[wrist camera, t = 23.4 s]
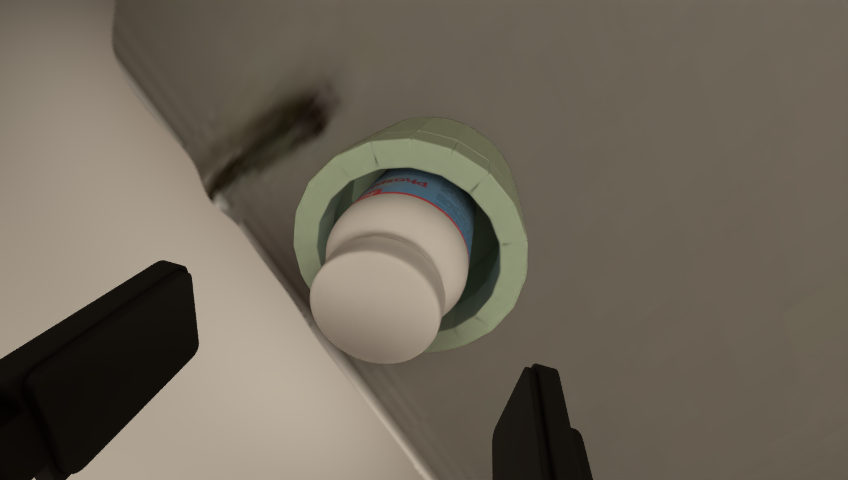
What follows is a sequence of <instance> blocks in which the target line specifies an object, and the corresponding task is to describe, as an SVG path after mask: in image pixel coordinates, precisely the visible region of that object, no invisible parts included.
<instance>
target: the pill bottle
mask: <svg viewBox="0 0 848 480" xmlns="http://www.w3.org/2000/svg"><path fill="white" fill-rule="evenodd" d="M475 213H476V202H475V200H474V199H473V198H472V196H471V195H470V194H469V193H468V192H466V191H465V190H463V189H462V188H460V187H458V186H457V185H455V184H454V183H452V182H450V181H449V180H447V179H446V178H444V177H443V176H440V175H437V174H433V173H429V172H425V171H421V170H418V169H414V168H393V169H387V170H386V171H385V172H384V173H383V174H382V175H381V176H380V177H379V178H378V179H377V180H376V181H375V182H374V183H373V184H372V185H371V186H370V187H369V188H368V189H367V190H366V191H365V192H364V193H363V194H362V195H361V196H360V197H359V198H358V199H357V200H356V201H355V202H354V203H353V204H352V205H351V206H350V207H349V208H348V209H347V210H346V211H345V212H344V213H343V214H342V216H341V217H340V218H339V219H338V221H337V222H336V223H335V225H334V227H333V228H332V230H331V232H330V235H329V238H328V241H327V246H326V262H325V263H324V265H323V266H322V267H321V268H320V270H319V271H318V273H317V274H316V276H315V278H314V280H313V283H312V286H311V290H310V306H311V311H312V314H313V317H314V319H315V321H316V323H317V325H318V327H319V328H320V330H321V331H322V333H323V334H324V335H325V336H326V338H327V339H328V340H329V341H330V342H332V343H333V344H334V345H335V346H336V347H338V348H339V349H340V350H342V351H344V352H345V353H347V354H349V355H351V356H353V357H355V358H358V359H360V360H363V361H367V362H372V363H378V364H393V363H399V362H403V361H407V360H410V359H412V358H414V357H416V356H417V355H419V354H420V353H422V352H423V351H424V350H426V349H427V348H428V347H429V345H430V344H431V343H432V342H433V340H434V339H435V337H436V335H437V332H438V330H439V327H440V323H441V319H442V317H443V316H444V315H445V314H446V313H448V312H449V311H450V310H451V309H452V308H453V307H454V305H455V304H456V303H457V301H458V300H459V298H460V296H461V295H462V292H463V290H464V287H465V284H466V280H467V276H468V269H469V262H470V253H471V245H472V237H473V229H474V222H475Z"/></svg>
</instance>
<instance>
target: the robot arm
mask: <svg viewBox="0 0 848 480" xmlns="http://www.w3.org/2000/svg"><path fill="white" fill-rule="evenodd" d="M198 346H199V340H198V331H197V322H196V312H195V303H194V294H193V284H192V277H191V274H190V273H188V271H187V268H186V267H185V266H182V265H179V264H175V263H172V262H168V261H165V260H162V261H158V262H156V263H154V264H153V265H151V266H150V267H148V268H146V269H145V270H143V271H142V272H140V273H139V274H137V275H135V276H134V277H132V278H130V279H129V280H127V281H126V282H124V283H123V284H121V285H119V286H117V287H116V288H114V289H113V290H111V291H109V292H108V293H106V294H105V295H103V296H101V297H100V298H98V299H97V300H95V301H93V302H92V303H90V304H89V305H87V306H85V307H84V308H82V309H80V310H79V311H77V312H76V313H74V314H72V315H71V316H69V317H68V318H66V319H64V320H63V321H61V322H60V323H58V324H56V325H55V326H53V327H52V328H50V329H48V330H47V331H45V332H44V333H42V334H40V335H39V336H37V337H35V338H34V339H32V340H31V341H29V342H27V343H26V344H24V345H23V346H21V347H19V348H18V349H16V350H15V351H13V352H11V353H10V354H8V355H7V356H5V357H3V358H2V359H0V480H32V479H33V478H34V477H35V479H36V480H66V479H67V478H68V477H69V476H70V475H71V474H75V473H77V472H79V471H81V470H82V469H83V468H84V467H85V466H86V465H87V464H88V463H89V462H90V461H91V460H92V459H93V458H94V457H95V456H96V455H97V454H98V453H99V452H100V451H101V450H102V449H103V448H104V447H105V446H106V445H107V444H108V443H109V442H110V441H111V440H112V439H113V438H114V437H115V436H116V435H117V434H118V433H119V432H120V431H121V430H122V429H123V428H124V427H125V426H126V425H127V424H128V423H129V422H130V421H131V420H132V419H133V418H134V417H135V416H136V415H137V414H138V413H139V411H140V410H141V409H142V408H143V407H144V406H145V405H146V404H147V403H148V402H149V401H150V400H151V399H152V398H153V397H154V396H155V395H156V394H157V393H158V392H159V391H160V390H161V389H162V388H163V387H164V386H165V385H166V384H167V383H168V382H169V381H170V380H171V379H172V378H173V377H174V376H175V375H176V374H177V373H178V372H179V371H180V370H181V369H182V368H183V366H185V365H186V364H187V363H188V361H190V359H191V358H192V357H193V356H194V355H195V353H196V352H197V350H198ZM492 467H493V480H593V478H592V474H591V470H590V466H589V462H588V458H587V454H586V450H585V446H584V442H583V439H582V436H581V434H580V433H579V431H578V430H576V429H573V428H571V426H570V422H569V417H568V413H567V408H566V404H565V399H564V395H563V390H562V386H561V381H560V377H559V373H558V371H557V370H556V369H554V368H550V367H546V366H543V365H539V364H533V365H532V367H531V368H529V367H525V368H524V370H523V372H522V374H521V376H520V378H519V380H518V382H517V384H516V386H515V388H514V390H513V392H512V394H511V397H510V399H509V401H508V403H507V405H506V407H505V409H504V411H503V413H502V415H501V417H500V419H499V421H498V423H497V425H496V427H495V430H494V433H493V439H492Z"/></svg>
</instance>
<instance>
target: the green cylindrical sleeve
mask: <svg viewBox="0 0 848 480" xmlns="http://www.w3.org/2000/svg"><path fill="white" fill-rule="evenodd" d="M393 168H414V169H418V170H421V171H425V172H429V173H433V174H437V175H440V176H443V177H444V178H446V179H447V180H449V181H450V182H452V183H454V184H455V185H457V186H458V187H460V188H462V189H463V190H465V191H466V192H468V193H469V194H470V195H471V196H472V198H473V199H474V200H475V202H476V213H475V222H474V229H473V237H472V245H471V253H470V262H469V269H468V276H467V280H466V284H465V287H464V290H463V292H462V295H461V296H460V298H459V300H458V301H457V303H456V304H455V305H454V307H453V308H452V309H451V310H450V311H449V312H448V313H446V314H445V315H444V316H443V317H442V319H441V323H440V327H439V330H438V332H437V335H436V337H435V339H434V340H433V342H432V343H431V344H430V345H429V347H428V348H427V349H426V350H424V351H423V352H439V351H444V350H448V349H452V348H457V347H461V346H465V345H467V344H469V343H470V342H472V341H474V340H476V339H477V338H479V337H481V336H483V335H485V334H486V333H488V332H490V331H492V330H493V329H494V328H495V327H496V326H497V325H498V324H499V323H500V322H501V320H502V319H503V318H504V317H505V316H506V315H507V314H508V313H509V312H510V311H511V310H512V308H513V307H514V305H515V303H516V301H517V299H518V296H519V294H520V291H521V289H522V286H523V284H524V282H525V279H526V275H527V258H528V240H527V235H526V230H525V226H524V221H523V216H522V212H521V208H520V203H519V199H518V194H517V190H516V187H515V184H514V181H513V178H512V175H511V172H510V169H509V167H508V165H507V163H506V161H505V160H504V158H503V157H502V155H501V154H500V152H499V151H498V150H497V149H496V147H495V146H494V145H493V144H492V143H491V142H490V141H489V140H488V139H487V138H485V137H484V136H483V135H482V134H480V133H479V132H477V131H476V130H474V129H473V128H471V127H468V126H466V125H464V124H462V123H459V122H456V121H453V120H450V119H445V118H439V117H420V118H413V119H407V120H403V121H401V122H399V123H397V124H394V125H392V126H390V127H388V128H386V129H383V130H381V131H379V132H377V133H376V134H374V135H372V136H370V137H368V138H367V139H365V140H363V141H361V142H360V143H358V144H356V145H354V146H352V147H351V148H349V149H347V150H345V151H344V152H342V153H340V154H338V155H336V156H335V157H334V158H333V159H332V160H331V161H329V162H328V163H327V164H326V165H325V166H324V167H323V168H322V169H321V170H320V171H319V172H318V173H317V174H316V175H315V176H314V177H313V178H312V179H311V180H310V182H309V183H308V185H307V188H306V190H305V192H304V194H303V197H302V199H301V201H300V203H299V206H298V208H297V210H296V214H295V229H294V249H295V253H296V257H297V261H298V265H299V268H300V272H301V275H302V277H303V279H304V281H305V282H306V284H307V286H308V287H309V289H310V290H311V286H312V283H313V280H314V278H315V276H316V274H317V273H318V271H319V270H320V268H321V267H322V266H323V265H324V263H325V262H326V246H327V241H328V238H329V235H330V232H331V230H332V228H333V227H334V225H335V223H336V222H337V221H338V219H339V218H340V217H341V216H342V214H343V213H344V212H345V211H346V210H347V209H348V208H349V207H350V206H351V205H352V204H353V203H354V202H355V201H356V200H357V199H358V198H359V197H360V196H361V195H362V194H363V193H364V192H365V191H366V190H367V189H368V188H369V187H370V186H371V185H372V184H373V183H374V182H375V181H376V180H377V179H378V178H379V177H380V176H381V175H382V174H383V173H384V172H385V171H386V170H387V169H393Z"/></svg>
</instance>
